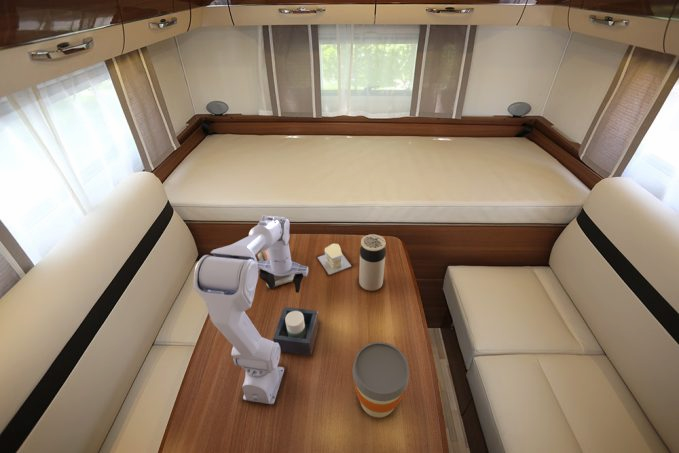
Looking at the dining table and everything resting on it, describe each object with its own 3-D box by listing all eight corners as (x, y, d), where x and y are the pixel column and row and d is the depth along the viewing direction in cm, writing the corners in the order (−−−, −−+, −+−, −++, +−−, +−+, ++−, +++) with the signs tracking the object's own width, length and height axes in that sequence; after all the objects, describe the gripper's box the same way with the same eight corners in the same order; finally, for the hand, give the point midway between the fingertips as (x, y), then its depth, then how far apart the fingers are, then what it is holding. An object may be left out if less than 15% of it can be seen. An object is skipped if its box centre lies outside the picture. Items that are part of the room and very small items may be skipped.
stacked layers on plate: (351, 266, 118) (351, 254, 115) (329, 274, 115) (328, 263, 112) (339, 249, 125) (338, 238, 122) (317, 257, 122) (316, 246, 119)
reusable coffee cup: (350, 375, 87) (349, 342, 77) (397, 372, 87) (403, 338, 78) (355, 428, 77) (355, 397, 68) (408, 423, 77) (416, 392, 68)
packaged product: (255, 246, 121) (281, 239, 124) (257, 255, 124) (283, 248, 126) (265, 279, 107) (295, 271, 110) (268, 289, 110) (296, 281, 113)
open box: (310, 355, 91) (309, 343, 88) (275, 350, 93) (272, 338, 89) (318, 323, 100) (317, 310, 96) (286, 319, 101) (284, 306, 97)
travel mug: (370, 295, 108) (372, 254, 97) (354, 281, 113) (354, 241, 102) (387, 283, 112) (391, 242, 101) (371, 270, 117) (373, 230, 105)
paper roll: (308, 331, 97) (304, 346, 93) (291, 329, 98) (286, 344, 94) (305, 311, 91) (301, 327, 88) (287, 309, 92) (282, 325, 88)
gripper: (309, 247, 91) (312, 281, 99) (259, 242, 93) (266, 275, 101) (302, 265, 85) (307, 299, 94) (249, 259, 87) (258, 293, 96)
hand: (285, 288), depth 97 cm, fingers open, 7 cm apart
